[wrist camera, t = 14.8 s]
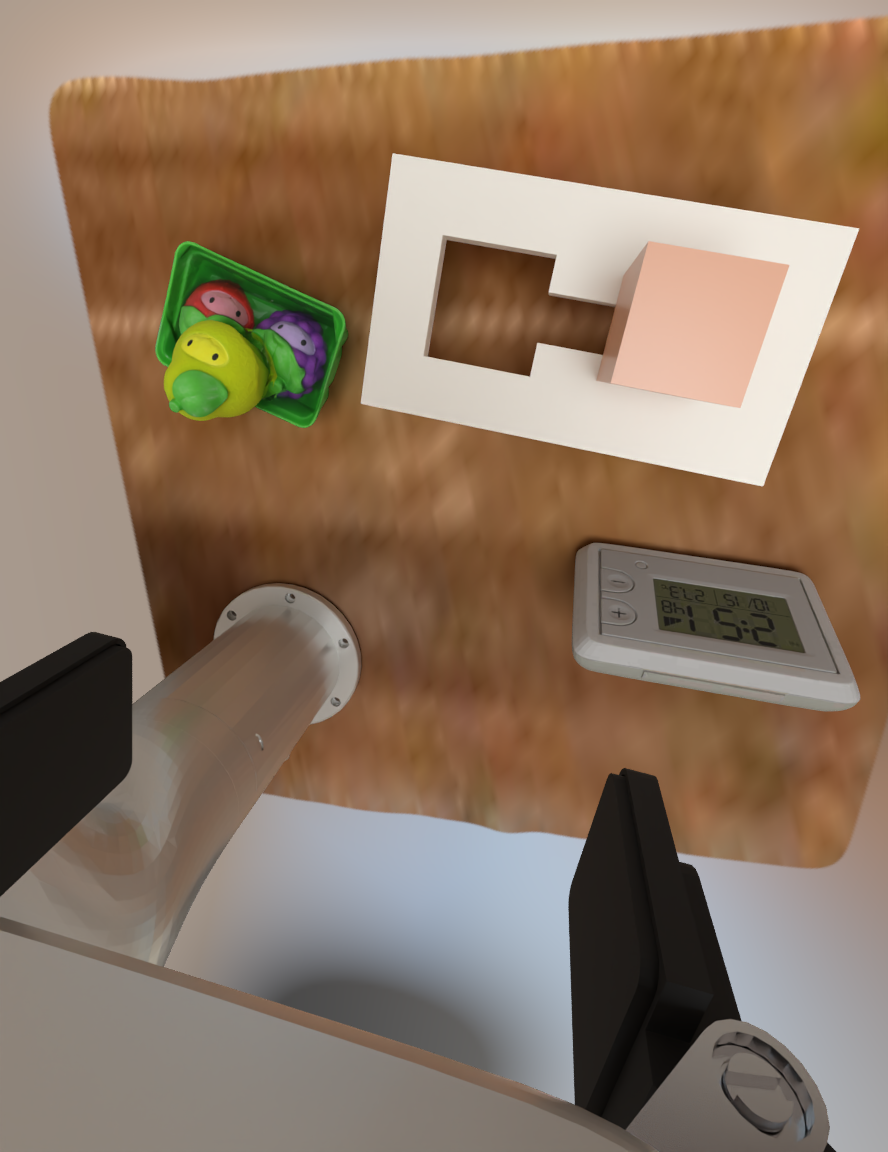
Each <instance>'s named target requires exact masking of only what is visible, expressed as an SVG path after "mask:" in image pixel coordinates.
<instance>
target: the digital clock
mask: <svg viewBox="0 0 888 1152" xmlns="http://www.w3.org/2000/svg"><path fill="white" fill-rule="evenodd" d="M572 651H573V655H574V658H575V660H576V661H577V662H578V663H579V665H581V666H582V667H584V668H585V669H588V670H591V671H595V672H600V673H605V674H611V675H616V676H621V677H627V678H632V679H638V680H643V681H649V682H655V683H661V684H666V685H672V686H678V687H684V688H689V689H695V690H701V691H707V692H712V693H718V694H724V695H730V696H735V697H741V698H747V699H753V700H758V701H764V702H770V703H776V704H781V705H787V706H794V707H800V708H806V709H812V710H819V711H841V710H846V709H849V708H851V707H853V706H854V705H855V704H857V702H858V701H859V700H860V693H859V690H858V687H857V684H856V681H855V678H854V676H853V673H852V670H851V668H850V666H849V663H848V661H847V659H846V656H845V654H844V652H843V650H842V647H841V645H840V643H839V641H838V638H837V636H836V634H835V631H834V629H833V627H832V625H831V622H830V620H829V618H828V616H827V613H826V611H825V609H824V606H823V604H822V602H821V600H820V597H819V595H818V593H817V591H816V588H815V586H814V584H813V582H812V581H811V579H810V578H809V577H807V576H806V575H804V574H802V573H799V572H794V571H788V570H782V569H776V568H770V567H763V566H756V565H750V564H743V563H736V562H729V561H723V560H716V559H709V558H702V557H695V556H689V555H682V554H675V553H668V552H662V551H655V550H648V549H641V548H634V547H628V546H621V545H613V544H605V543H591V544H589V545H587V546H585V547H583V548H581V549H580V550H578V552H577V554H576V560H575V578H574V601H573V623H572Z"/></svg>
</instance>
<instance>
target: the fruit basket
mask: <svg viewBox="0 0 888 1152" xmlns="http://www.w3.org/2000/svg"><path fill="white" fill-rule="evenodd" d="M347 337H348V331H347V329H346V324H345V319H344V316H343V314H342V313H341V312H340V311H339V310H338V309H337V308H335V307H333V306H330V305H328V304H326V303H324V302H321V301H319V300H317V299H315V298H312V297H310V296H308V295H306V294H303V293H301V292H299V291H297V290H295V289H292V288H290V287H288V286H286V285H284V284H282V283H279V282H277V281H275V280H273V279H271V278H269V277H267V276H264V275H262V274H260V273H258V272H256V271H254V270H252V269H250V268H248V267H245V266H243V265H241V264H239V263H236V262H234V261H232V260H230V259H228V258H226V257H223V256H221V255H219V254H217V253H215V252H213V251H211V250H208V249H206V248H204V247H202V246H200V245H198V244H196V243H193V242H189V241H187V242H183V243H182V244H180V245H179V246H178V248H177V250H176V252H175V256H174V261H173V267H172V272H171V276H170V282H169V286H168V291H167V297H166V301H165V305H164V311H163V315H162V319H161V323H160V328H159V332H158V337H157V341H156V347H155V351H156V355H157V358H158V359H159V361H160V362H161V363H162V364H163V365H165V366H167V367H168V368H167V370H166V372H165V376H164V390H165V393H166V395H167V398H168V400H169V401H170V402H169V407H170V409H171V410H172V411H173V412H179V413H180V414H182V415H183V416H185V417H187V418H189V419H192V420H197V421H205V420H210V419H213V418H216V417H234V416H239V415H242V414H244V413H246V412H248V411H249V410H251V409H252V408H253V407H257V408H259V409H261V410H263V411H265V412H268V413H270V414H272V415H274V416H276V417H278V418H280V419H283V420H285V421H287V422H289V423H291V424H294V425H296V426H298V427H302V428H307V427H309V426H311V425H312V424H313V423H314V422H315V421H316V419H317V417H318V415H319V412H320V409H321V408H322V406H323V405H324V403H325V402H326V400H327V399H328V395H329V388H328V387H329V386H330V384H331V383H332V382H333V380H334V377H335V374H336V371H337V368H338V365H339V362H340V359H341V355H342V345H343V344H344V343H345V341H346V340H347Z"/></svg>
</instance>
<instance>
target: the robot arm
mask: <svg viewBox="0 0 888 1152" xmlns="http://www.w3.org/2000/svg"><path fill="white" fill-rule="evenodd" d="M292 594H293V595H294V596H295V597H294V596H293V595H292ZM345 639H347V640H348V641H346V640H345ZM361 667H362V665H361V652H360V648H359V644H358V640H357V638H356V636H355V634H354V631H353V629H352V627H351V626H350V624H349V623H348V621H347V620H346V618H345V617H344V616H343V614H342V613H341V612H340V611H339V610H338V609H337V608H336V607H335V606H334V605H333V604H332V603H330V602H329V601H327V600H326V599H325V598H323V597H322V596H320V595H319V594H317V593H315V592H313V591H311V590H308V589H306V588H303V587H300V586H296V585H293V584H283V583H272V584H263V585H260V586H257V587H254V588H251V589H249V590H248V591H246V592H244V593H242V594H241V595H239V596H238V597H237V598H235V599H234V600H233V601H231V602H230V603H229V604H228V606H227V607H226V608H225V609H224V610H223V612H222V614H221V616H220V617H219V619H218V621H217V624H216V628H215V632H214V640H213V641H212V642H211V643H209V644H208V645H207V646H206V647H204V648H203V649H202V650H201V651H199V652H198V653H197V654H195V655H194V656H193V657H192V658H190V659H189V660H188V661H187V662H185V663H184V664H183V665H182V666H180V667H179V668H178V669H176V670H175V671H174V672H173V673H171V674H170V675H169V676H168V677H166V678H165V679H164V680H163V681H161V682H160V683H159V684H157V685H156V686H155V687H154V688H152V689H151V690H150V691H149V692H147V693H146V694H145V695H143V696H142V697H141V698H140V699H139V700H137V701H136V702H135V703H133V704H132V653H131V651H130V650H129V649H128V648H126V644H125V642H124V641H123V640H122V639H120V638H116V637H112V636H108V635H104V634H100V633H97V632H90V633H88V634H85V635H84V636H82V637H80V638H78V639H77V640H75V641H73V642H71V643H69V644H68V645H66V646H64V647H62V648H60V649H59V650H57V651H55V652H53V653H52V654H50V655H48V656H46V657H45V658H43V659H41V660H39V661H37V662H36V663H34V664H32V665H30V666H28V667H26V668H25V669H23V670H21V671H19V672H18V673H16V674H14V675H12V676H10V677H9V678H7V679H5V680H3V681H2V682H0V1152H836V1151H835V1150H834V1149H833V1148H832V1147H831V1146H830V1145H829V1144H828V1143H827V1140H828V1135H829V1129H830V1126H829V1120H828V1115H827V1109H826V1105H825V1103H824V1101H823V1099H822V1097H821V1094H820V1092H819V1090H818V1087H817V1085H816V1084H815V1082H814V1081H813V1079H812V1078H811V1076H810V1075H809V1073H808V1072H807V1070H806V1069H805V1068H804V1066H803V1065H802V1063H800V1061H799V1060H798V1059H797V1058H796V1057H795V1056H794V1055H793V1054H792V1053H791V1052H790V1051H789V1050H788V1049H787V1048H786V1046H784V1045H783V1044H782V1043H780V1042H779V1041H778V1040H776V1039H775V1038H774V1037H772V1036H771V1035H770V1034H768V1033H767V1032H766V1031H764V1030H761V1029H759V1028H758V1027H755V1026H753V1025H751V1024H749V1023H747V1022H742V1021H741V1018H740V1014H739V1012H738V1008H737V1004H736V1001H735V998H734V994H733V991H732V987H731V984H730V981H729V977H728V974H727V970H726V967H725V963H724V960H723V957H722V953H721V950H720V947H719V943H718V940H717V937H716V933H715V929H714V926H713V923H712V919H711V916H710V913H709V909H708V906H707V902H706V899H705V896H704V892H703V889H702V885H701V882H700V878H699V876H698V873H697V871H696V869H695V868H694V867H693V866H692V865H689V864H686V863H682V862H679V860H678V856H677V852H676V849H675V845H674V841H673V837H672V833H671V830H670V826H669V822H668V818H667V814H666V810H665V807H664V803H663V799H662V795H661V791H660V787H659V784H658V780H657V778H656V777H655V776H653V775H649V774H645V773H642V772H638V771H634V770H630V769H626V768H624V769H622V770H621V772H620V774H619V775H616V774H612V773H611V774H609V776H608V778H607V781H606V784H605V787H604V790H603V793H602V796H601V798H600V801H599V804H598V807H597V810H596V813H595V816H594V819H593V822H592V825H591V828H590V831H589V834H588V837H587V840H586V843H585V846H584V848H583V851H582V854H581V857H580V860H579V863H578V866H577V869H576V872H575V875H574V878H573V881H572V884H571V888H570V894H569V934H570V935H569V936H570V966H571V996H572V997H571V998H572V1029H573V1059H574V1089H575V1105H574V1104H572V1103H569V1102H567V1101H564V1100H562V1099H559V1098H557V1097H554V1096H552V1095H549V1094H547V1093H544V1092H542V1091H539V1090H537V1089H534V1088H531V1087H529V1086H527V1085H524V1084H522V1083H519V1082H516V1081H512V1080H510V1079H507V1078H504V1077H501V1076H498V1075H495V1074H492V1073H489V1072H486V1071H484V1070H480V1069H478V1068H474V1067H472V1066H469V1065H466V1064H463V1063H460V1062H457V1061H454V1060H451V1059H448V1058H445V1057H443V1056H440V1055H437V1054H434V1053H430V1052H427V1051H425V1050H422V1049H419V1048H416V1047H413V1046H410V1045H406V1044H403V1043H401V1042H397V1041H394V1040H391V1039H388V1038H385V1037H382V1036H379V1035H375V1034H373V1033H369V1032H366V1031H363V1030H360V1029H356V1028H354V1027H351V1026H348V1025H344V1024H341V1023H338V1022H335V1021H332V1020H329V1019H326V1018H322V1017H319V1016H316V1015H313V1014H310V1013H307V1012H304V1011H301V1010H297V1009H294V1008H291V1007H288V1006H285V1005H282V1004H279V1003H276V1002H273V1001H270V1000H266V999H263V998H260V997H257V996H254V995H251V994H247V993H244V992H241V991H238V990H235V989H232V988H229V987H225V986H222V985H219V984H216V983H213V982H209V981H206V980H203V979H200V978H196V977H193V976H190V975H187V974H184V973H181V972H178V971H175V970H171V969H168V968H165V967H164V965H165V963H166V960H167V958H168V956H169V954H170V952H171V949H172V947H173V945H174V943H175V940H176V938H177V936H178V933H179V931H180V929H181V927H182V925H183V922H184V920H185V918H186V916H187V914H188V912H189V910H190V908H191V906H192V903H193V902H194V900H195V898H196V896H197V894H198V892H199V890H200V888H201V886H202V884H203V883H204V881H205V879H206V878H207V876H208V874H209V873H210V871H211V869H212V868H213V866H214V864H215V863H216V861H217V859H218V858H219V856H220V855H221V853H222V852H223V850H224V849H225V847H226V845H227V844H228V842H229V841H230V839H231V838H232V836H233V835H234V833H235V832H236V830H237V829H238V828H239V826H240V825H241V823H242V822H243V820H244V819H245V817H246V816H247V815H248V813H249V812H250V810H251V809H252V807H253V806H254V804H255V803H256V801H257V800H258V798H259V797H260V796H261V794H262V793H263V791H264V790H265V788H266V787H267V786H268V784H269V783H270V781H271V780H272V778H273V777H274V775H275V774H276V773H277V771H278V770H279V768H280V767H281V765H282V764H283V762H284V761H285V760H287V759H288V758H289V756H290V752H291V751H292V749H293V748H294V746H295V745H296V744H297V742H298V741H299V739H300V738H301V736H302V735H303V733H304V732H305V730H306V729H307V728H308V726H309V725H310V724H314V723H319V722H322V721H324V720H326V719H328V718H330V717H332V716H333V715H335V714H336V713H337V712H339V711H340V710H341V709H342V708H343V707H344V706H345V705H346V703H347V702H348V701H349V700H350V698H351V696H352V695H353V693H354V692H355V690H356V687H357V684H358V682H359V679H360V673H361Z"/></svg>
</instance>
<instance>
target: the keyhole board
mask: <svg viewBox="0 0 888 1152" xmlns="http://www.w3.org/2000/svg"><path fill="white" fill-rule="evenodd" d="M858 231H859V229H858V228H852V227H846V226H840V225H834V224H827V223H821V222H815V221H809V220H803V219H796V218H790V217H784V216H778V215H772V214H765V213H759V212H753V211H747V210H741V209H734V208H728V207H722V206H716V205H710V204H703V203H697V202H691V201H685V200H679V199H672V198H666V197H660V196H654V195H648V194H641V193H635V192H629V191H623V190H617V189H610V188H604V187H598V186H592V185H586V184H579V183H573V182H567V181H561V180H555V179H548V178H542V177H536V176H530V175H524V174H517V173H511V172H505V171H499V170H493V169H486V168H480V167H474V166H468V165H462V164H456V163H449V162H443V161H437V160H431V159H425V158H418V157H412V156H406V155H400V154H394V153H393V155H392V163H391V171H390V178H389V186H388V194H387V202H386V210H385V218H384V225H383V233H382V241H381V249H380V257H379V265H378V272H377V280H376V288H375V296H374V304H373V312H372V319H371V327H370V335H369V343H368V351H367V359H366V366H365V374H364V382H363V390H362V398H361V404H364V405H369V406H374V407H379V408H384V409H389V410H394V411H398V412H403V413H408V414H413V415H418V416H423V417H428V418H432V419H437V420H442V421H447V422H452V423H457V424H462V425H467V426H471V427H476V428H481V429H486V430H491V431H496V432H501V433H505V434H510V435H515V436H520V437H525V438H530V439H535V440H539V441H544V442H549V443H554V444H559V445H564V446H569V447H574V448H578V449H583V450H588V451H593V452H598V453H603V454H608V455H612V456H617V457H622V458H627V459H632V460H637V461H642V462H647V463H651V464H656V465H661V466H666V467H671V468H676V469H681V470H685V471H690V472H695V473H700V474H705V475H710V476H715V477H719V478H724V479H729V480H734V481H739V482H744V483H749V484H754V485H758V486H763V485H764V482H765V480H766V477H767V474H768V472H769V469H770V466H771V464H772V461H773V458H774V455H775V453H776V450H777V447H778V445H779V442H780V439H781V437H782V434H783V431H784V429H785V426H786V423H787V421H788V418H789V415H790V413H791V410H792V407H793V405H794V402H795V399H796V397H797V394H798V391H799V389H800V386H801V383H802V381H803V378H804V375H805V373H806V370H807V367H808V365H809V362H810V359H811V356H812V354H813V351H814V348H815V346H816V343H817V340H818V338H819V335H820V332H821V330H822V327H823V324H824V322H825V319H826V316H827V314H828V311H829V308H830V306H831V303H832V300H833V298H834V295H835V292H836V290H837V287H838V284H839V282H840V279H841V276H842V274H843V271H844V268H845V266H846V263H847V260H848V257H849V255H850V252H851V249H852V247H853V244H854V241H855V239H856V236H857V233H858ZM447 240H450V241H456V242H461V243H467V244H473V245H479V246H484V247H490V248H496V249H501V250H507V251H513V252H519V253H524V254H530V255H536V256H542V257H547V258H553V259H556V261H555V266H554V270H553V275H552V279H551V284H550V288H549V295H550V296H556V297H562V298H567V299H573V300H578V301H584V302H589V303H595V304H600V305H606V306H611V307H616V303H617V299H618V295H619V291H620V287H621V283H622V279H623V276H624V274H625V273H626V271H627V270H628V268H629V267H630V266H631V264H632V263H633V262H634V260H635V259H636V258H637V256H638V255H639V253H640V252H641V251H642V249H643V248H644V247H645V245H646V244H647V243H648V241H651V242H657V243H663V244H669V245H675V246H681V247H686V248H692V249H698V250H704V251H710V252H716V253H722V254H728V255H734V256H740V257H746V258H752V259H758V260H763V261H769V262H775V263H781V264H787V265H789V268H788V271H787V274H786V277H785V280H784V283H783V286H782V289H781V291H780V294H779V297H778V300H777V303H776V306H775V309H774V312H773V315H772V318H771V321H770V323H769V326H768V329H767V332H766V335H765V338H764V341H763V344H762V347H761V350H760V353H759V355H758V358H757V361H756V364H755V367H754V370H753V373H752V376H751V379H750V382H749V384H748V387H747V390H746V393H745V396H744V399H743V402H742V405H741V408H737V407H731V406H726V405H720V404H714V403H709V402H703V401H698V400H692V399H687V398H682V397H677V396H672V395H667V394H661V393H656V392H651V391H646V390H641V389H636V388H631V387H625V386H620V385H615V384H610V383H605V382H600V381H596V380H597V376H598V372H599V369H600V365H601V361H602V357H603V355H600V354H595V353H589V352H584V351H579V350H573V349H568V348H563V347H558V346H552V345H547V344H542V343H537V347H536V352H535V356H534V361H533V365H532V370H531V374H530V376H524V375H519V374H514V373H509V372H504V371H499V370H494V369H489V368H483V367H478V366H473V365H468V364H463V363H458V362H453V361H448V360H442V359H437V358H432V357H428V353H429V347H430V340H431V334H432V328H433V322H434V316H435V309H436V303H437V297H438V291H439V285H440V279H441V272H442V266H443V260H444V254H445V248H446V241H447Z"/></svg>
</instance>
